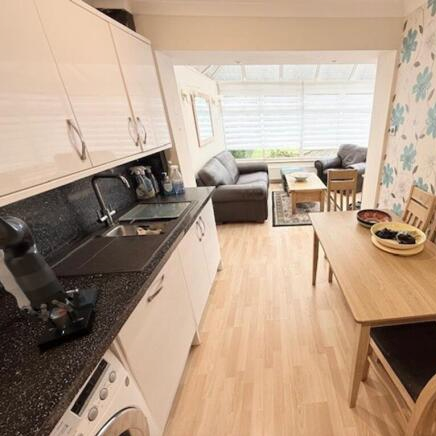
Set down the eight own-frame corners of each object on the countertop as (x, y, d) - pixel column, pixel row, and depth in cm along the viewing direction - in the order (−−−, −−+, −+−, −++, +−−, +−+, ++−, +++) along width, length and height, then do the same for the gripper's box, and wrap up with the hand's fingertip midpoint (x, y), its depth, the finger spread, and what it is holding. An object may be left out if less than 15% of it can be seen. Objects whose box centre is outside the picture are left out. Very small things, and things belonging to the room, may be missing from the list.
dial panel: (41, 351, 72) (36, 344, 71) (52, 327, 80) (47, 321, 79) (90, 333, 77) (85, 326, 76) (95, 312, 85) (91, 306, 84)
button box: (52, 321, 83) (46, 312, 81) (60, 302, 91) (55, 294, 89) (94, 306, 88) (89, 298, 86) (98, 290, 96) (94, 283, 94)
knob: (56, 332, 75) (47, 320, 73) (59, 323, 78) (51, 311, 76) (74, 325, 77) (66, 313, 75) (75, 316, 80) (68, 304, 78)
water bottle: (39, 298, 94) (2, 244, 83) (53, 300, 93) (17, 245, 82) (17, 312, 88) (-26, 256, 77) (32, 314, 86) (-10, 258, 76)
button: (64, 303, 86) (62, 299, 85) (67, 296, 89) (65, 292, 88) (78, 298, 87) (76, 295, 87) (80, 292, 91) (78, 288, 90)
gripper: (-2, 299, 64) (32, 342, 71) (67, 278, 71) (91, 319, 78) (8, 284, 69) (39, 326, 77) (71, 265, 76) (93, 305, 84)
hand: (65, 322), depth 77 cm, fingers closed on knob, 4 cm apart
